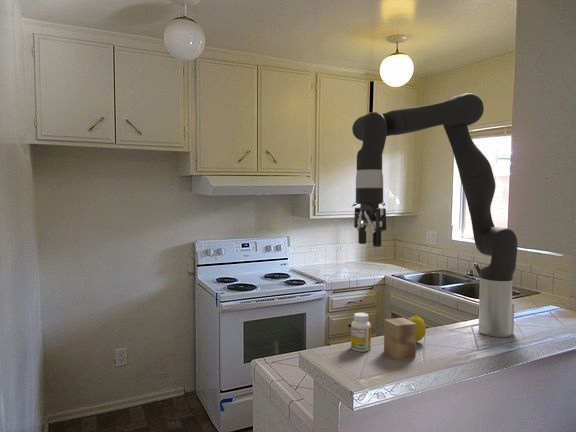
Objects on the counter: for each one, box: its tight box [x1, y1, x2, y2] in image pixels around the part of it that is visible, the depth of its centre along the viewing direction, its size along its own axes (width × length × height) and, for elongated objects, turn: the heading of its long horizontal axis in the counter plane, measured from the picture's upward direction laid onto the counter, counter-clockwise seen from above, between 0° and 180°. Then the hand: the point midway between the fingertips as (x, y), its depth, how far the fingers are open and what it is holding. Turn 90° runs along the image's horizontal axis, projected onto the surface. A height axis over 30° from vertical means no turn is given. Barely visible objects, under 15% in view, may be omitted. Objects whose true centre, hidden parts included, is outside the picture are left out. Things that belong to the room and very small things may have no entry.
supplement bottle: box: [350, 312, 372, 353], centre depth 119 cm, size 5×5×10 cm
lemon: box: [408, 314, 427, 343], centre depth 125 cm, size 6×6×8 cm
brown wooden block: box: [383, 317, 417, 360], centre depth 115 cm, size 6×6×9 cm
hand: (369, 245), depth 119 cm, fingers open, 8 cm apart
